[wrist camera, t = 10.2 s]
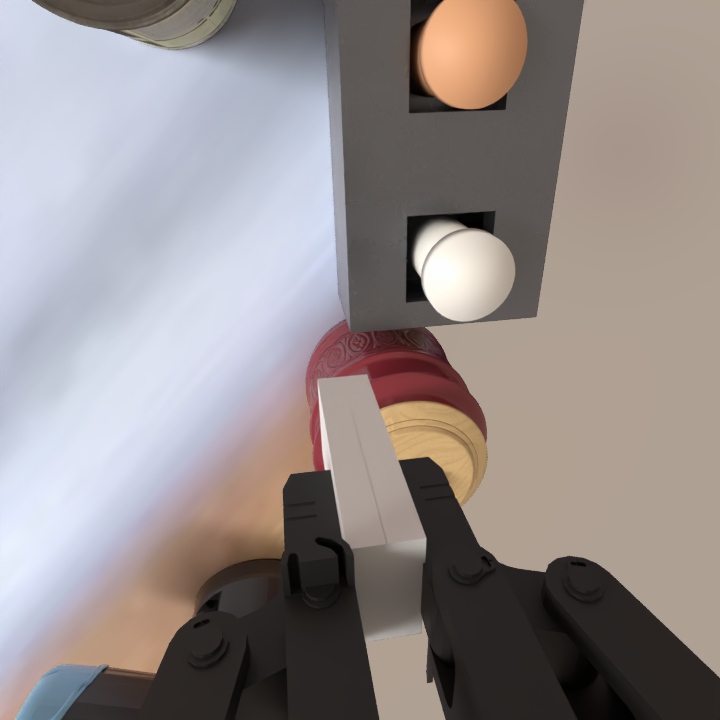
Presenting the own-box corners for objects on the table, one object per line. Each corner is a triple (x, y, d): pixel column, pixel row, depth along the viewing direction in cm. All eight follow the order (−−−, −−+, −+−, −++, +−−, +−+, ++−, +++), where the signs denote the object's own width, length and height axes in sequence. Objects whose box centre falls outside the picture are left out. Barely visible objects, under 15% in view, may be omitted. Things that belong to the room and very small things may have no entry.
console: (495, 281, 45) (536, 317, 38) (338, 294, 43) (350, 333, 36) (528, -28, 34) (592, -59, 27) (322, -27, 33) (334, -59, 26)
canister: (434, 292, 44) (518, 400, 29) (447, 411, 51) (523, 552, 35) (289, 325, 44) (296, 453, 28) (321, 441, 50) (341, 597, 35)
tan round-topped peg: (466, 103, 36) (520, 107, 28) (390, 106, 36) (423, 111, 28) (472, 9, 34) (534, -16, 26) (389, 10, 33) (426, -16, 25)
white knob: (463, 272, 40) (509, 317, 32) (394, 277, 40) (424, 325, 32) (468, 200, 38) (520, 229, 30) (394, 204, 37) (427, 236, 29)
